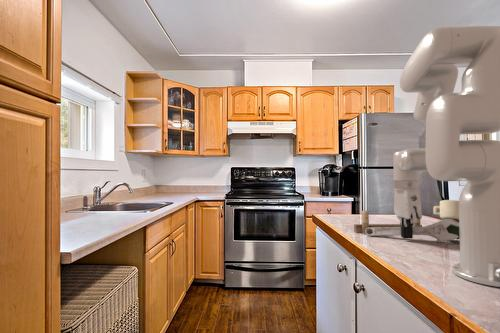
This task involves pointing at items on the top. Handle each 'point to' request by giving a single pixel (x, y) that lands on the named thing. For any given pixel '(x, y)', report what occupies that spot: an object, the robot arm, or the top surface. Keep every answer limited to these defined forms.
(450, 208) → the character mug
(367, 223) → the peg rack
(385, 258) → the top surface
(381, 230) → the wrench
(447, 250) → the top surface
